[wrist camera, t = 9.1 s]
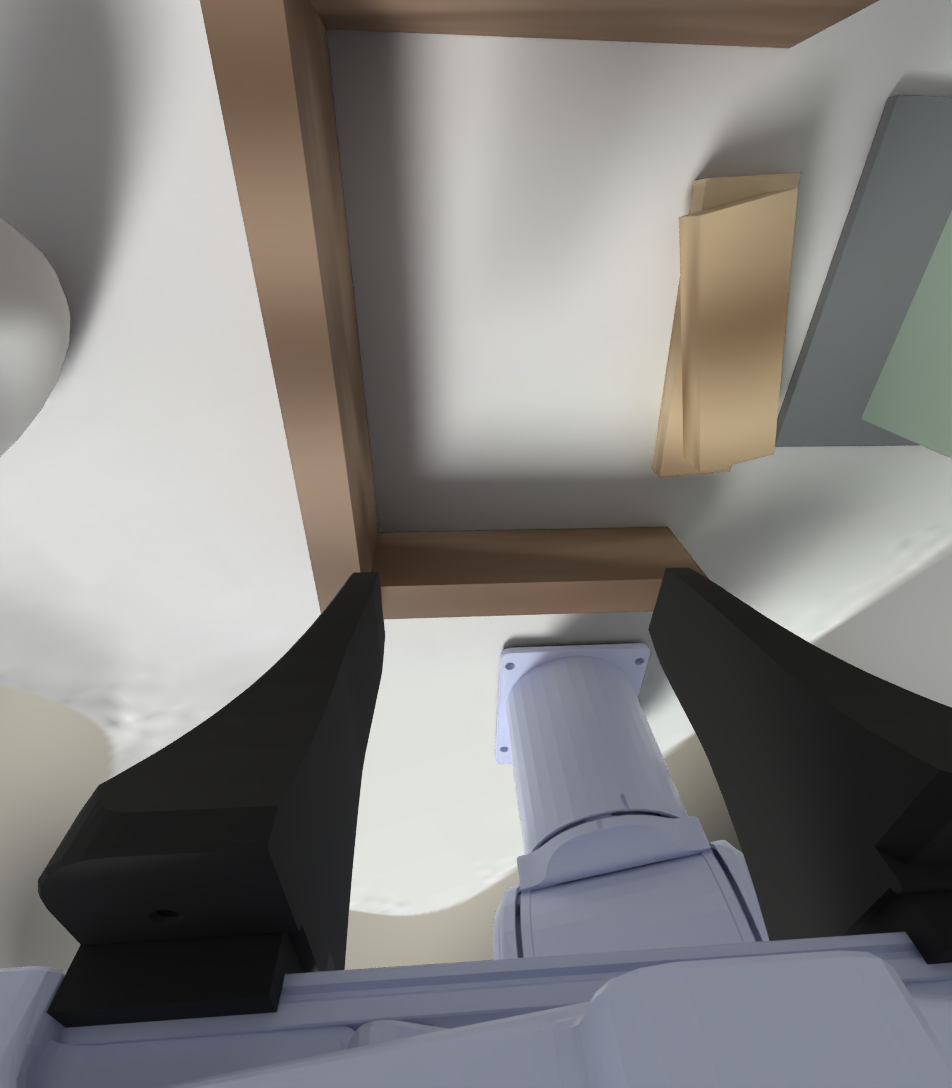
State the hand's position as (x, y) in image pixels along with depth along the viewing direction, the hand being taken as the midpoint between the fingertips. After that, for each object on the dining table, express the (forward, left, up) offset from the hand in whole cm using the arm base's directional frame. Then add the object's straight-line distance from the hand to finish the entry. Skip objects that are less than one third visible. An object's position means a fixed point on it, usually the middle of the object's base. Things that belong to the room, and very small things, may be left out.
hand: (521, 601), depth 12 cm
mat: (+6, -16, -9) cm, 20 cm away
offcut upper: (+5, -8, -9) cm, 13 cm away
